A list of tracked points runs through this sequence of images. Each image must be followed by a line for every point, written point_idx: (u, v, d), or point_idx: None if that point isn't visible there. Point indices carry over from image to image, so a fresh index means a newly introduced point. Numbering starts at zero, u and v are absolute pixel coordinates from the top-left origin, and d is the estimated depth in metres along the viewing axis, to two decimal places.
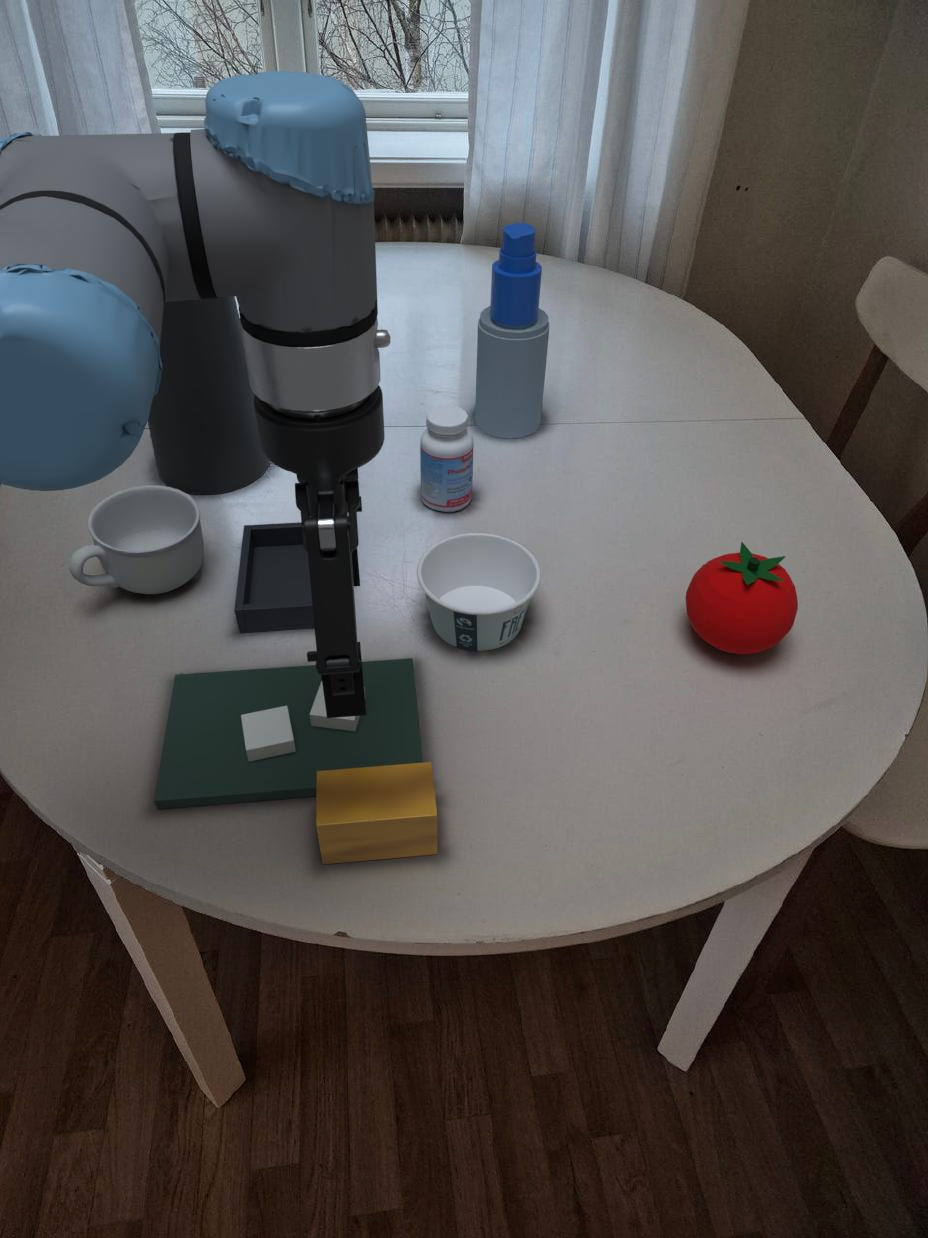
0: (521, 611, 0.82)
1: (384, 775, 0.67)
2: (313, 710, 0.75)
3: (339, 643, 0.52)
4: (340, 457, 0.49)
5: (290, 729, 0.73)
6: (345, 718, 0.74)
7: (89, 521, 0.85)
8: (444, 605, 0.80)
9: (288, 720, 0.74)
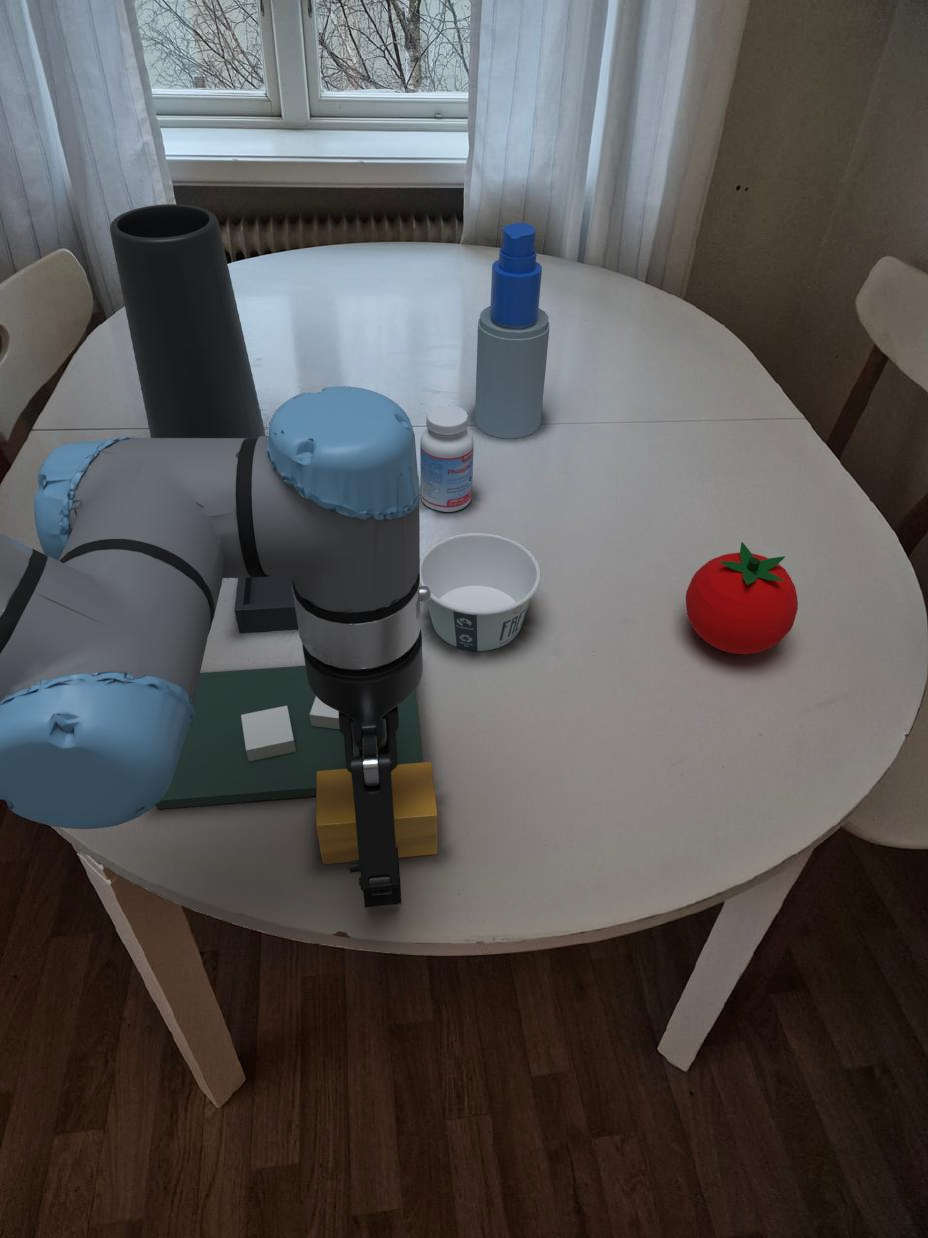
0: (521, 611, 0.82)
1: None
2: (313, 710, 0.75)
3: (381, 865, 0.55)
4: (383, 700, 0.53)
5: (290, 729, 0.73)
6: None
7: None
8: (444, 605, 0.80)
9: (288, 720, 0.74)
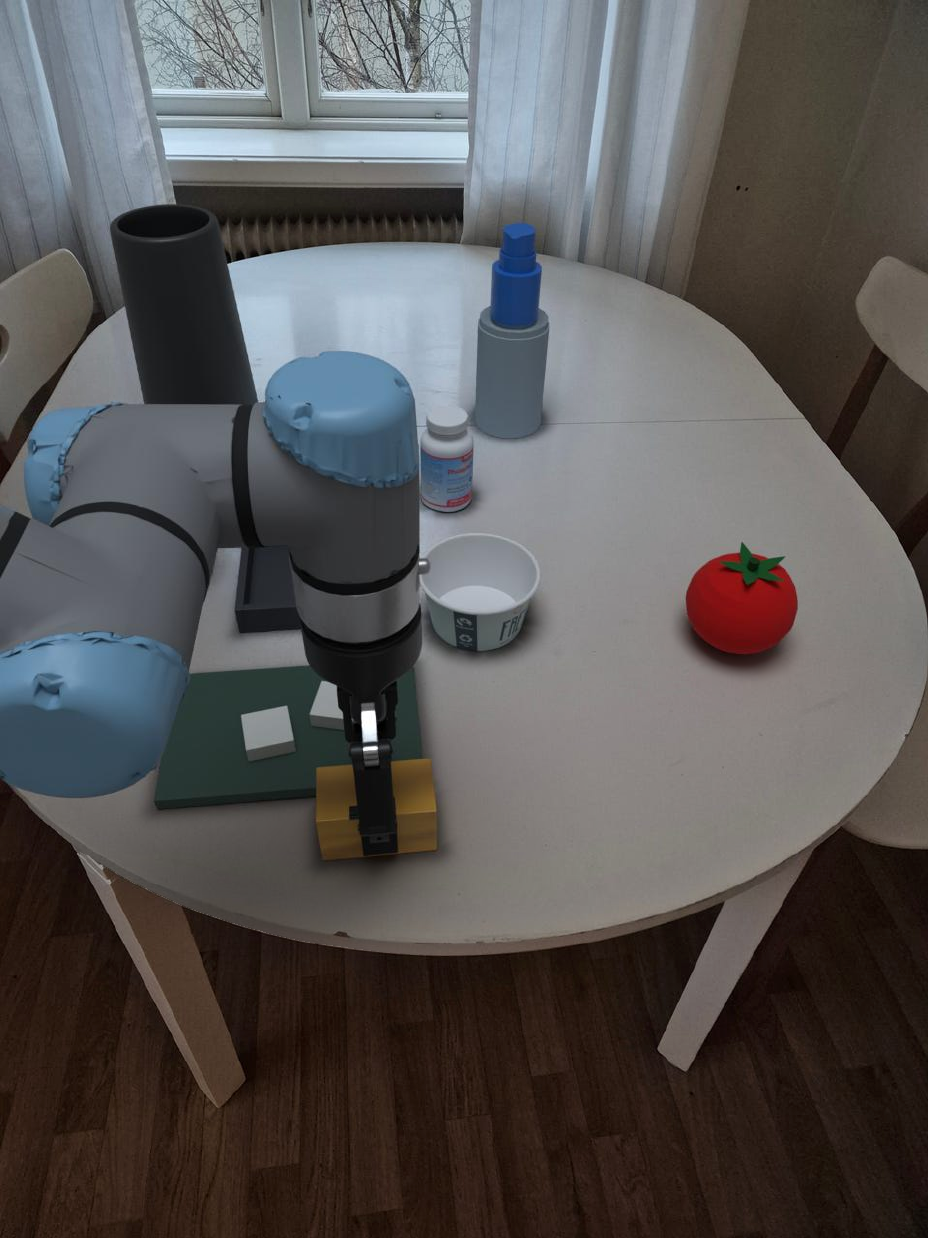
0: (521, 611, 0.82)
1: None
2: (313, 710, 0.75)
3: (379, 820, 0.58)
4: (382, 675, 0.52)
5: (290, 729, 0.73)
6: None
7: None
8: (444, 605, 0.80)
9: (288, 720, 0.74)
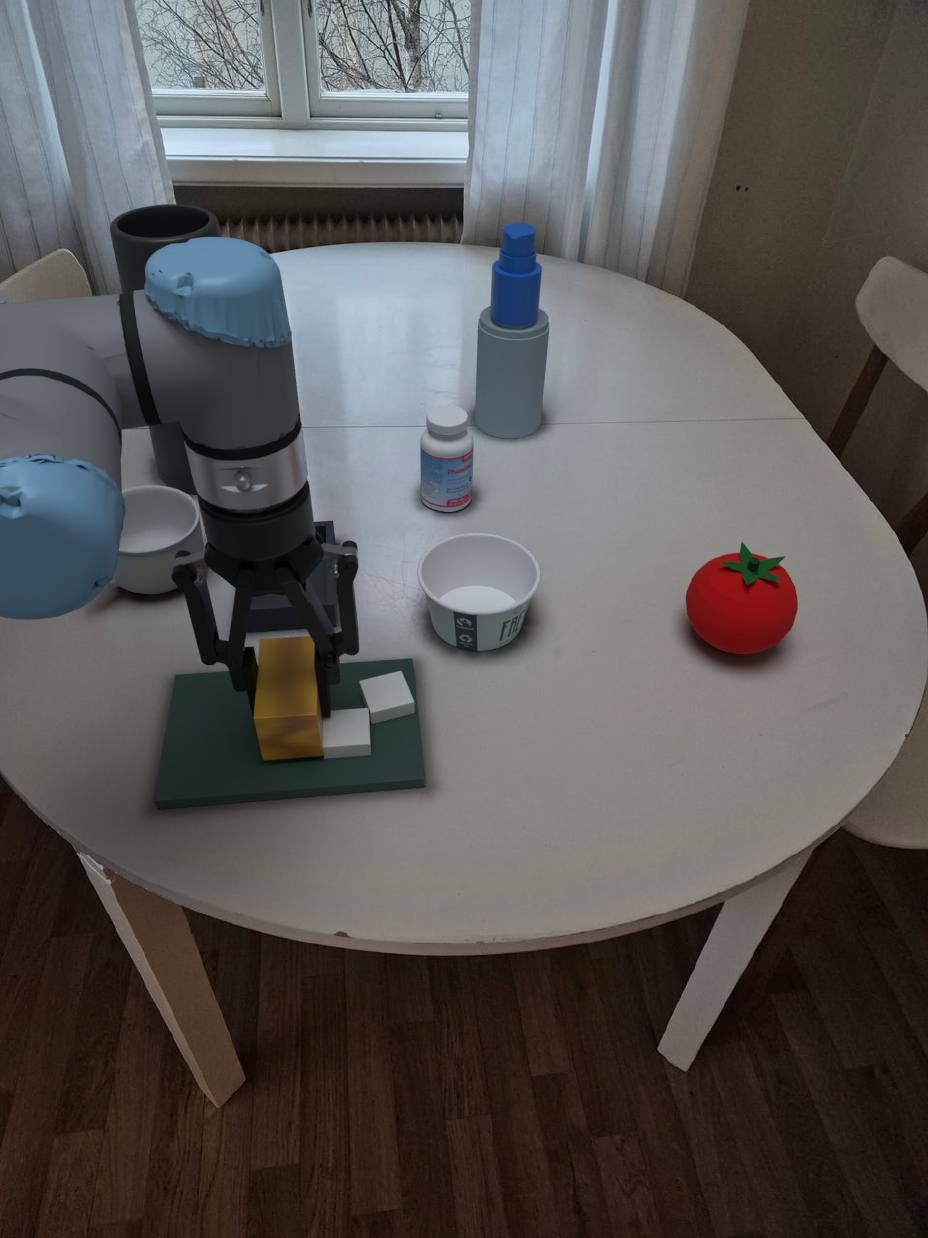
0: (521, 611, 0.82)
1: (305, 680, 0.71)
2: (371, 708, 0.75)
3: None
4: (204, 526, 0.59)
5: (368, 732, 0.73)
6: (405, 703, 0.76)
7: None
8: (444, 605, 0.80)
9: (367, 723, 0.74)
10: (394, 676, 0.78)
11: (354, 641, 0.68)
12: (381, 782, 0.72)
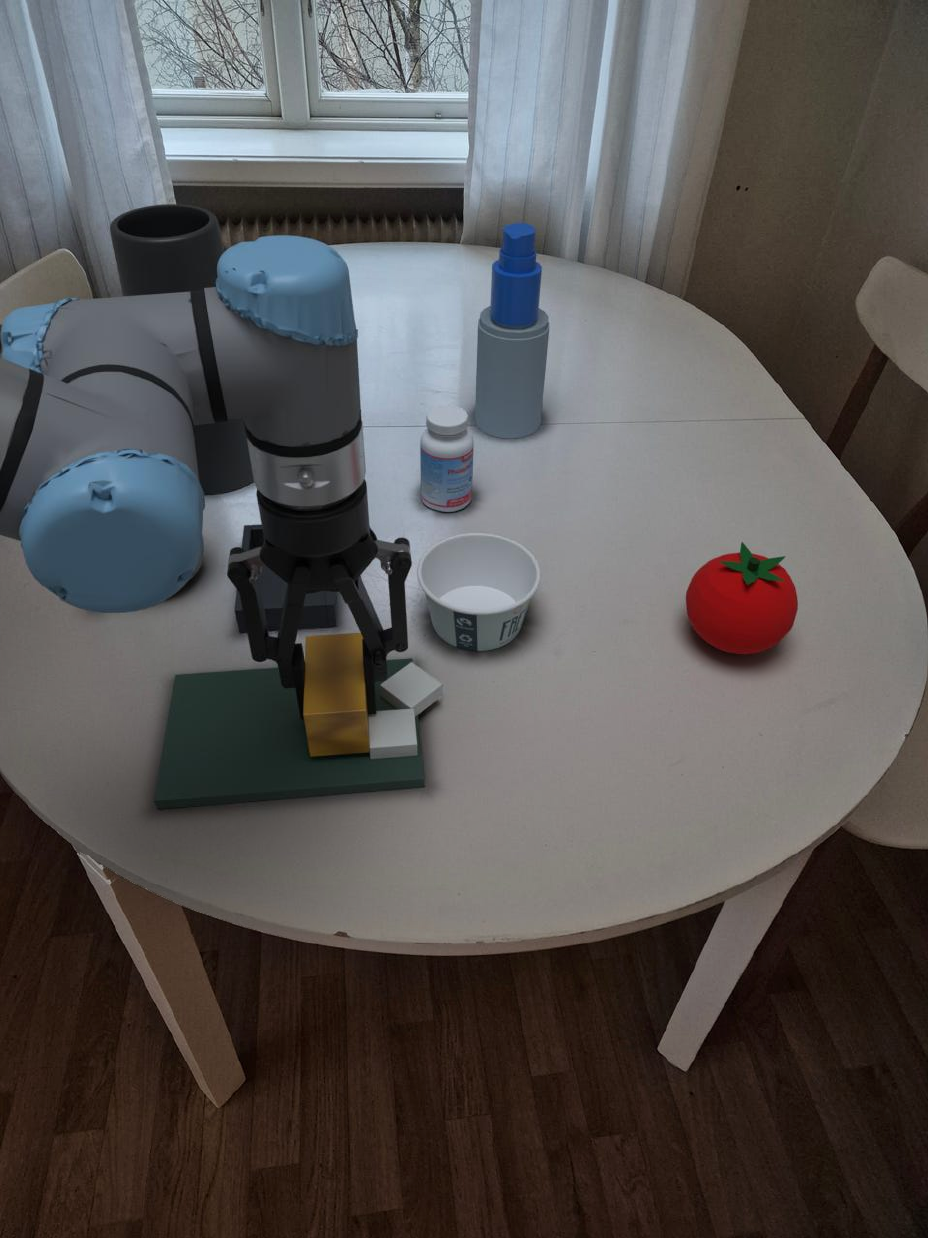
0: (521, 611, 0.82)
1: (352, 676, 0.72)
2: (409, 704, 0.76)
3: None
4: (262, 523, 0.59)
5: (414, 733, 0.73)
6: (435, 688, 0.77)
7: None
8: (444, 605, 0.80)
9: (413, 723, 0.74)
10: (409, 669, 0.79)
11: (403, 638, 0.68)
12: (381, 782, 0.72)
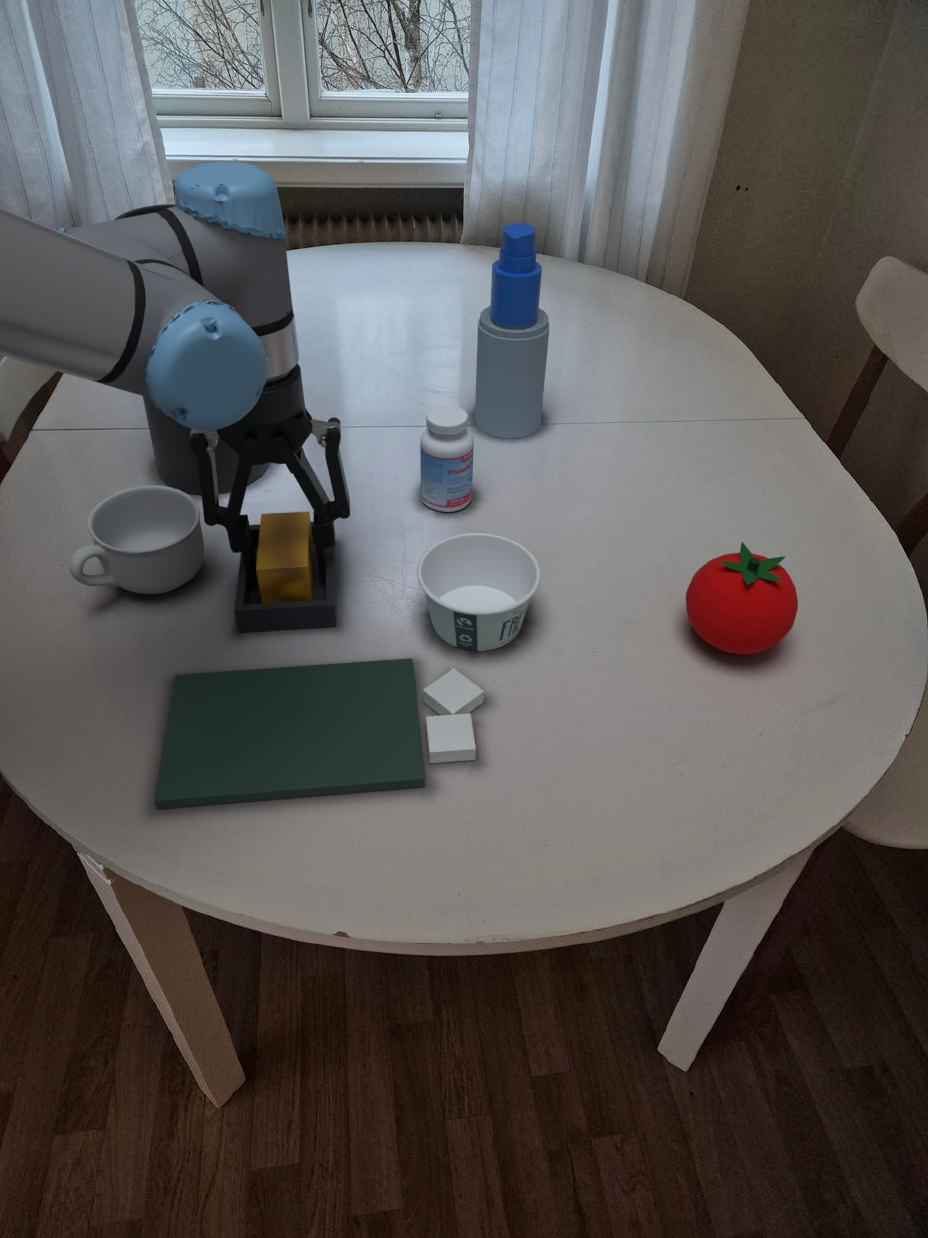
0: (521, 611, 0.82)
1: (298, 542, 0.86)
2: (450, 709, 0.77)
3: None
4: None
5: (473, 737, 0.75)
6: (477, 695, 0.78)
7: (89, 521, 0.85)
8: (444, 605, 0.80)
9: (471, 728, 0.75)
10: (451, 675, 0.80)
11: (345, 505, 0.83)
12: (381, 782, 0.72)
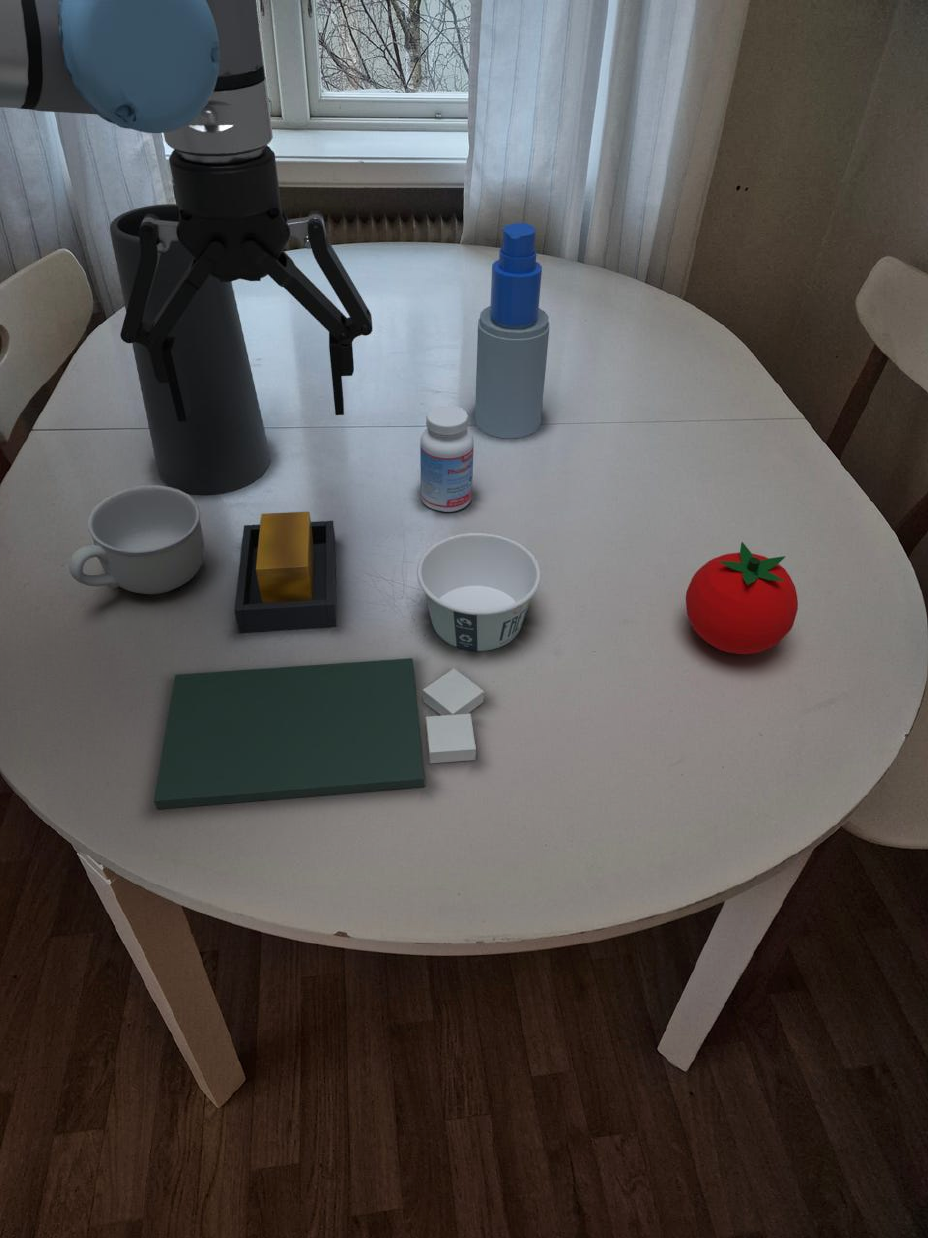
0: (521, 611, 0.82)
1: (298, 542, 0.86)
2: (450, 709, 0.77)
3: None
4: (175, 190, 0.63)
5: (473, 737, 0.75)
6: (477, 695, 0.78)
7: (89, 521, 0.85)
8: (444, 605, 0.80)
9: (471, 728, 0.75)
10: (451, 675, 0.80)
11: (362, 317, 0.71)
12: (381, 782, 0.72)
